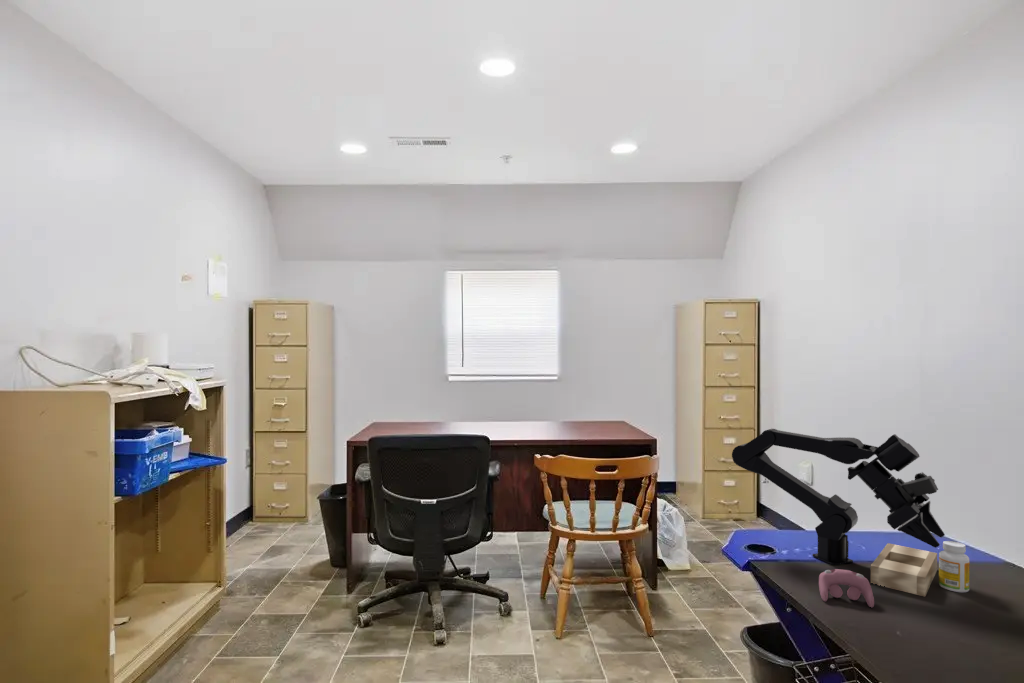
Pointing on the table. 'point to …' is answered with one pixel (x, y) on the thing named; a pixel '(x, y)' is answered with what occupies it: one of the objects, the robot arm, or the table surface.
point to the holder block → (904, 569)
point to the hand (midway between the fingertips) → (940, 541)
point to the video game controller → (845, 577)
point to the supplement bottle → (954, 567)
